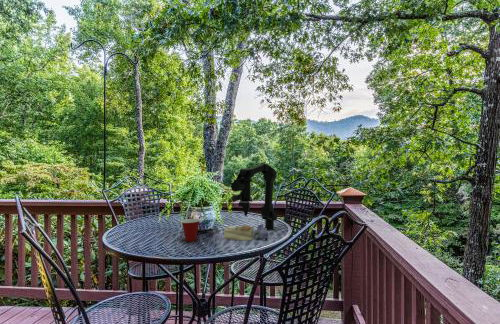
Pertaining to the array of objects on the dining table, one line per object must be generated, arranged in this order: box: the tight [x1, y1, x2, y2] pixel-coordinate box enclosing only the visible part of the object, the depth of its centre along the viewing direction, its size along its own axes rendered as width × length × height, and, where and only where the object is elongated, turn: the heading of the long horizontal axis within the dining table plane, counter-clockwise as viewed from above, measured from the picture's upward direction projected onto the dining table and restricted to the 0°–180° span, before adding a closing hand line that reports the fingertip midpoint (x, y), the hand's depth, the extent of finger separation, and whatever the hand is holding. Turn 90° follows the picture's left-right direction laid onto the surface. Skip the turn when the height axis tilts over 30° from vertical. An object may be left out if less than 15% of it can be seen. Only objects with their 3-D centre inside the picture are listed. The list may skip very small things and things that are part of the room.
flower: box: [252, 223, 270, 240], centre depth 183 cm, size 9×9×10 cm
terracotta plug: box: [242, 224, 251, 230], centre depth 186 cm, size 4×4×5 cm
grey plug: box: [229, 225, 236, 230], centre depth 187 cm, size 4×4×5 cm
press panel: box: [223, 225, 255, 241], centre depth 187 cm, size 12×16×5 cm
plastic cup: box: [180, 218, 201, 243], centre depth 180 cm, size 11×11×12 cm
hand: (245, 215), depth 187 cm, fingers closed
